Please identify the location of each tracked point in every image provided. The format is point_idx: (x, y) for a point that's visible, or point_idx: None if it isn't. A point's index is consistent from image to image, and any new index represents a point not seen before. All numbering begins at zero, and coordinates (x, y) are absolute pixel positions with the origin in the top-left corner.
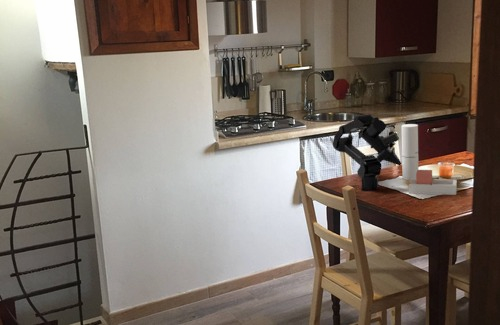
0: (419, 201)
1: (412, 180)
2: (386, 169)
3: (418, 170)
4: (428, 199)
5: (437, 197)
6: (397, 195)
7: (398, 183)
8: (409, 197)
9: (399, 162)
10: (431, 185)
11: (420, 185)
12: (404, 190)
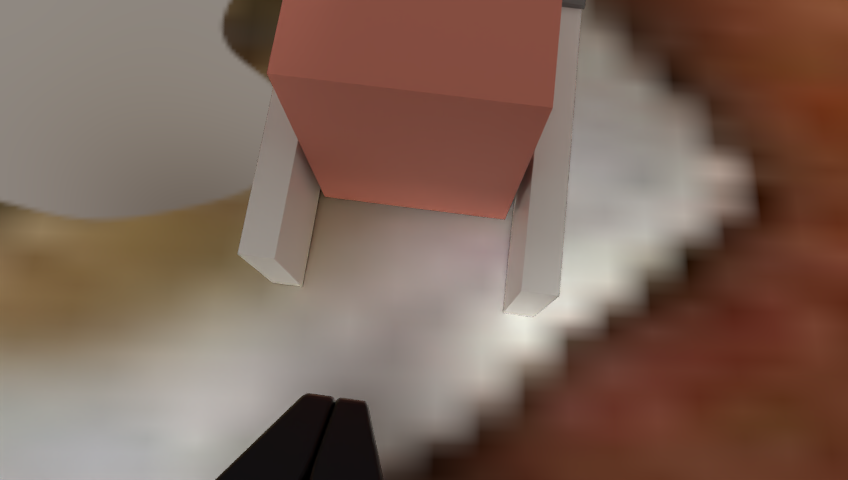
0: (840, 209)
1: (282, 234)
2: None
3: (323, 59)
4: (753, 111)
5: (672, 20)
6: (621, 473)
7: (47, 447)
8: (696, 317)
9: (376, 470)
10: (579, 2)
11: (567, 136)
12: (395, 371)
